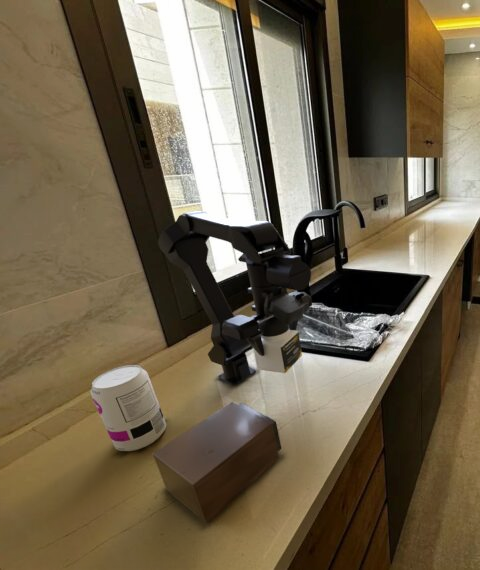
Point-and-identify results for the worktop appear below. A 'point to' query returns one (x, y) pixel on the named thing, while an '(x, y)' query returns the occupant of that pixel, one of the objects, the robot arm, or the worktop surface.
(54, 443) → the worktop surface
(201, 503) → the cabinet
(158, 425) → the supplement can
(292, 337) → the medicine bottle
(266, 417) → the drawer
